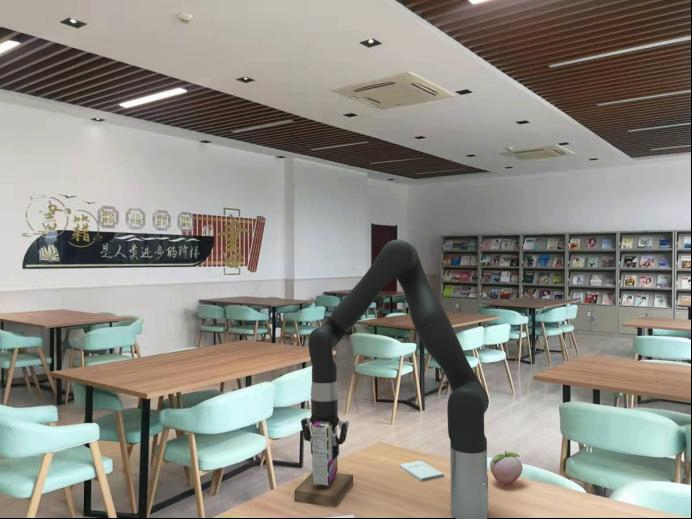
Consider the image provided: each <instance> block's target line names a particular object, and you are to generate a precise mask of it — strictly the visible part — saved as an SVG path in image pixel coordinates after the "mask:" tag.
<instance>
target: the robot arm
mask: <svg viewBox="0 0 692 519" xmlns="http://www.w3.org/2000/svg"><path fill="white" fill-rule="evenodd" d="M394 278H396V280H397V282H398V283H399V285H400V287H401V289H402V291H403V294H404V296H405V298H406V301H407V302H406V303H407V305H408V306H407V307H408V310H409V315H410V318H411V322H412V324H413V326H414V330H415V331H416V334H417V336H418V338H419V340H420V342H421V344H422V345H423V347H424V348H425V351H427V353H428V354H429V355H430V357H432V359H433V360H434V361H435V362H436V364H437V365H438V366H439V367H440V368H441V370H442V372H443V373H444V375H445V377H446V379H447V382H448V383H449V384H448V385H449V387H450V390H451V393H450V395H449V396H448V399H447V410H446V411H447V413H446V414H447V415H446V416H447V433H448V438H449V441H450V444H449V445H450V448H449V449H450V452H449V454H450V459H449V460H450V461H449V462H450V514H451V516H452V517H453V518H455V519H488V515H489V476H488V439H487V437H486V435H485V434H486V433H485V414H486V412H487V410H488V409H489V396H488V395H489V394H488V393H487V390H486V389H485V387H484V385H483V384H482V382H481V381H480V379H479V377H478V375H476V372H475V371H474V370H473V367H472V366H471V364H470V363H469V360H468V359H467V357H466V354H465V351H464V349H463V347H462V344H461V342H460V340H459V338H458V336H457V334H456V331H455V329H454V327H453V325H452V322H451V321H450V318H449V317H448V315H447V312H446V311H445V309H444V307H443V305H442V303H441V302H440V299H439V298H438V296H437V295H436V293H435V291H434V290H433V288H432V287H431V284H430V283H429V281H428V279H427V276H426V273H425V271H424V268H423V265H422V262H421V259H420V255H419V253H418V251H417V249H416V248H415V246H414V245H412V244H411V243H410V242H408V241H405V240H403V239H393V240H391V241H388V242H387V243H385V245H384V246H383V248H381V250H380V251H379V253H378V255H377V257H376V258H375V260H374V261H373V262H372V264H371V266H370V267H369V269H368V270H367V271H366V273H365V274H364V275H363V277H362V278H361V279H360V280H359V282H357V283H356V285H355V286H354V287H353V288H352V289H351V290H350V291H349V292H348V294H346V296H345V297H343V299H342V300H341V301H340V302H339V303H338V304H337V305H336V306H335V308H334V309H333V310H332V312H331V314H330V316H329V318H327V320H326V321H325V322H324V323H322V325H321V326H318V327H316V328H314V329H313V330H312V331H311V332H310V334H309V337H308V345H307V346H308V351H309V352H308V353H309V358H310V362H311V387H310V403H311V404H310V408H311V409H310V411H311V412H310V414H311V415H310V417H304V418H302V419H301V420H300V424H301V429H302V434H303V439H304V441H307V442H309V443H310V454H311V455H312V431H311V427H310V425H311V426H312V425H313V424H314V423H315V422H316V421H327V422H331V423H332V431H334V433H332V432H331V436H332V444H333V446H332V459H336V458H337V459H338V457H339V455H340V445H343V444H344V443H345V442H346V440H347V434H348V428H349V421H342V420H340V418H339V415H338V414H339V412H338V411H339V407H338V406H339V400H338V397H339V393H338V391H339V389H338V382H337V381H338V380H337V379H338V377H337V370H338V369H337V363H336V361H335V360H334V356H333V349H334V348H335V347H336V346H337V345H338V344H339V342H340V341H341V340H342V339H343V338H344V337H345V335H346V334H347V332H348V331H349V330H350V329H352V328H353V326H354V325H355V324H356V323H358V321H359V320H360V318H362V317H363V315H365V313H367V311H368V310H369V308H370V306H372V304H373V302H374V301H375V299H376V297H377V296H378V295H379V293H380V292H381V291H382V290H383V288H384V287H385V286H387V284H389V283H390V282H391V281H392V280H394ZM336 426H337V427H338V426H339V427H338V428H339V430H340V434H339V436H338V430H337V431H336Z"/></svg>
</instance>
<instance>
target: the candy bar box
mask: <svg viewBox="0 0 692 519" xmlns="http://www.w3.org/2000/svg"><path fill="white" fill-rule="evenodd" d="M336 431H337V432H338V425H337V426H336ZM331 432H332V433H334V431H332V423H331V422H327V421H316V422H315V423H314V424H313V425H312V424H311V436H312V454H311V456H312V458H311V460H312V472H313V485H325V486H329V485H330V483H331V481H332V479H333V478H334V476H335V474H336V473H338V457H337V458H336V459H332V446H333V444H332V436H331Z"/></svg>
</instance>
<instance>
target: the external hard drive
mask: <svg viewBox="0 0 692 519" xmlns="http://www.w3.org/2000/svg"><path fill="white" fill-rule="evenodd" d="M399 468H400V469H401V470H403V471H404V472H406V473H407V474H409V475H410V476H412V477H414V478H415V479H417V480H418V481H419V482H421V483H422V482H426V481H427V482H428V481H432V480H436V479H441V478H445V474H444V473H443V472H441V471H439V470H438V469H436V468H434V467H433V466H431V465H429V464H428V463H425V462H424V461H423V460H416V461H411V462H406V463H401V464H400V465H399Z"/></svg>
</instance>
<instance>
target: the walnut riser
mask: <svg viewBox="0 0 692 519" xmlns="http://www.w3.org/2000/svg"><path fill="white" fill-rule="evenodd" d="M353 486H354V474H350V473H349V474H348V473H342V472H336V474H335V476H334V478H333V479H332V481H331V483H330V485H329V486H325V485H313V471H312V472H311V473H310V475H308V476H307V477H306V478H305V479H304V480H303V481H302V482H301V483H300V484H299V485H298V486H297V487H296V488H295V489H294V490H293V492H294V494H293V496H294V497H293V498H294V502H297V503H304V504H309V505H316V506H323V507H329V508H331V507H332V508H337V507H338V505H339V504H340V503H341V501H342V500H343V499H344V498H345V496H346V495H347V494H348V493H349V491H350V490H351V489H352V487H353ZM350 488H351V489H350ZM349 489H350V490H349ZM346 493H347V494H346ZM343 497H344V498H343ZM342 498H343V499H342ZM339 502H340V503H339Z"/></svg>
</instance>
